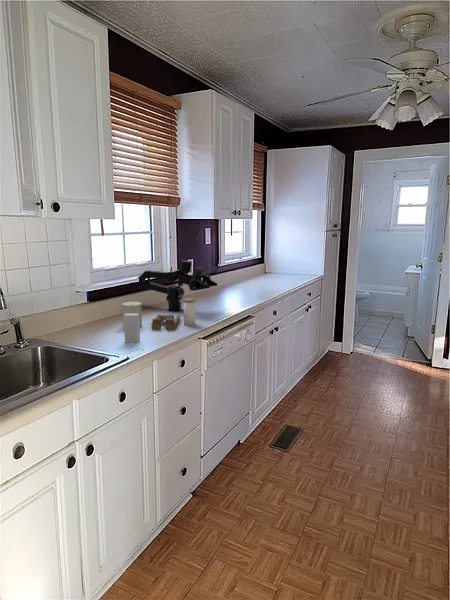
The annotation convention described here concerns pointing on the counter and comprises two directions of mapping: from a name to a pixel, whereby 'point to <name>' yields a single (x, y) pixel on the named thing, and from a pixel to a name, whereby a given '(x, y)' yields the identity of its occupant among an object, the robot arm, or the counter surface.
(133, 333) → the skincare box
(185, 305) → the jar
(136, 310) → the can
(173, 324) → the brown boxy piece
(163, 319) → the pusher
